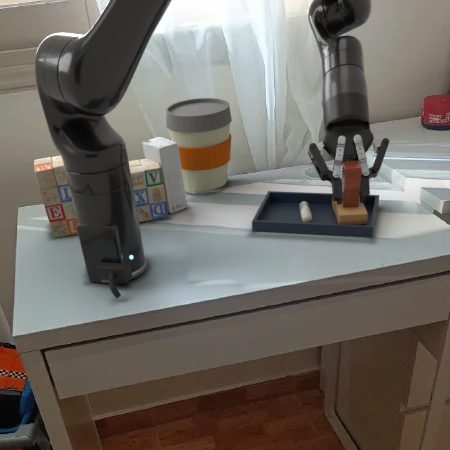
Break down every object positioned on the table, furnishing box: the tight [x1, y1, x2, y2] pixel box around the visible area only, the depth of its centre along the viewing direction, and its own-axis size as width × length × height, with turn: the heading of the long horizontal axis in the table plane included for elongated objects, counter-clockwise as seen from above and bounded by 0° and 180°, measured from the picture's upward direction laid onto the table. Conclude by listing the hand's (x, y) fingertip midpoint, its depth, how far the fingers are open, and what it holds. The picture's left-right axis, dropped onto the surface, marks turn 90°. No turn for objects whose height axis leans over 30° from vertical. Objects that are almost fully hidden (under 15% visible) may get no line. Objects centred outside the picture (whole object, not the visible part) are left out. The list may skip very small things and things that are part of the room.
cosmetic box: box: [141, 136, 188, 214], centre depth 112 cm, size 6×4×12 cm
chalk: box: [299, 201, 312, 223], centre depth 106 cm, size 7×2×2 cm, turn 0°
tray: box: [251, 190, 380, 239], centre depth 106 cm, size 13×20×3 cm, turn 75°
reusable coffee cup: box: [165, 97, 233, 195], centre depth 119 cm, size 13×13×15 cm
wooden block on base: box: [332, 161, 368, 225], centre depth 102 cm, size 9×5×9 cm, turn 0°
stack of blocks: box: [33, 154, 169, 239], centre depth 109 cm, size 21×6×12 cm, turn 104°
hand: (351, 201), depth 101 cm, fingers open, 3 cm apart
